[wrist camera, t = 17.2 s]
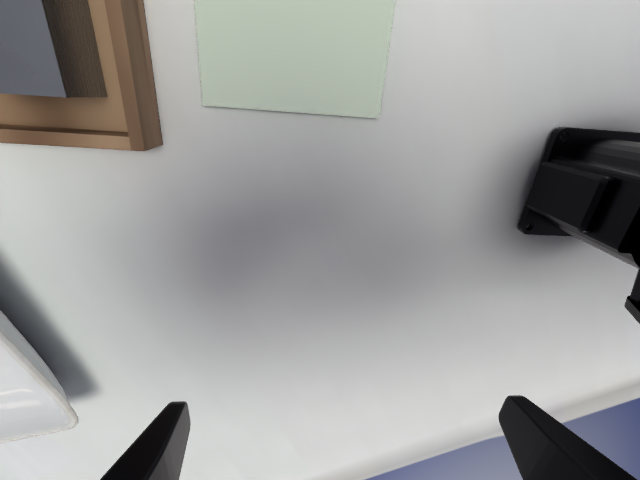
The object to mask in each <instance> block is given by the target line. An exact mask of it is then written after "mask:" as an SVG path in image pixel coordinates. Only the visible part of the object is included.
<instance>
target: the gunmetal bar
mask: <svg viewBox="0 0 640 480" xmlns="http://www.w3.org/2000/svg"><path fill="white" fill-rule="evenodd" d="M0 93H1V94H18V95H34V96H50V97H66V98H69V97H108V95H107V90H106V85H105V81H104V76H103V71H102V66H101V61H100V56H99V51H98V47H97V42H96V37H95V32H94V27H93V22H92V18H91V13H90V8H89V3H88V0H0Z"/></svg>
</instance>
